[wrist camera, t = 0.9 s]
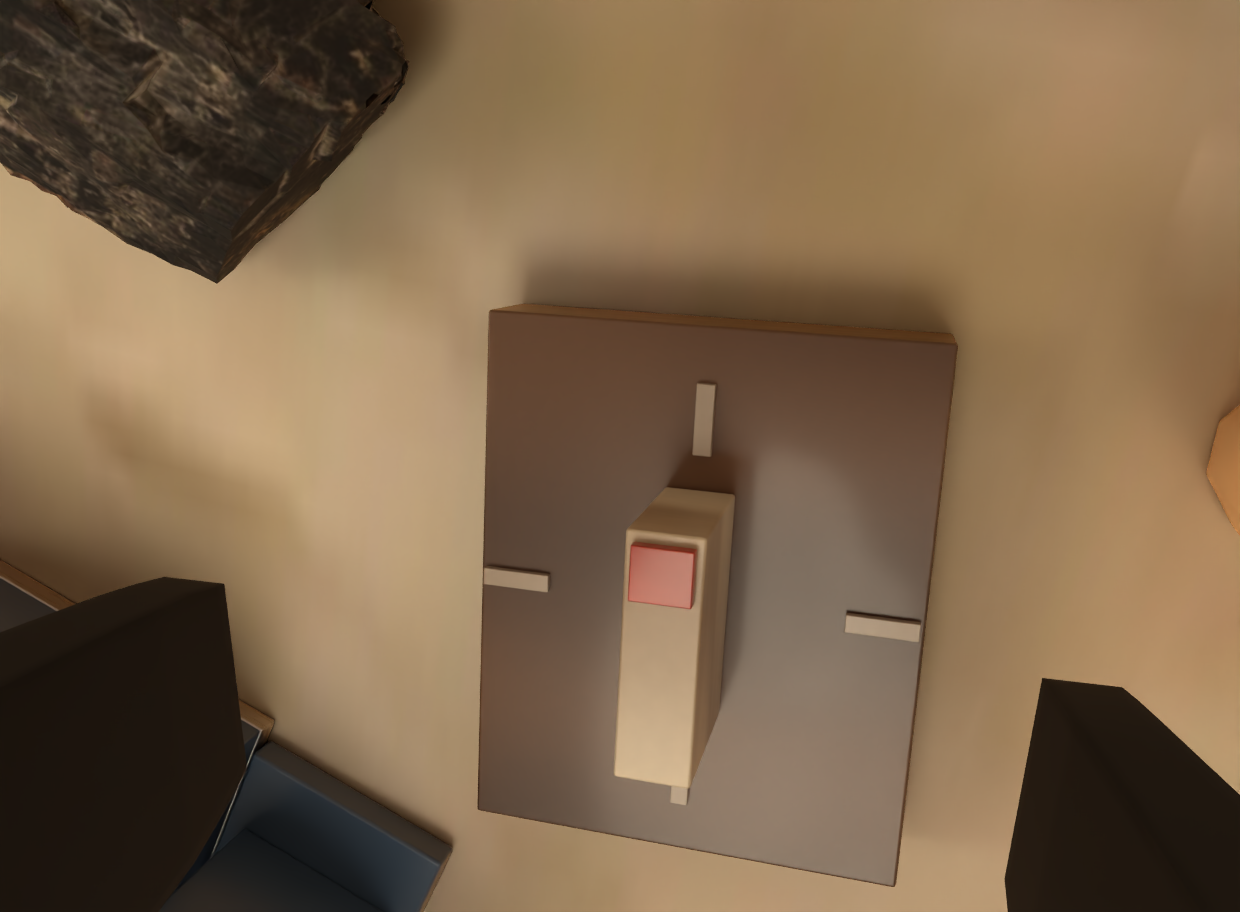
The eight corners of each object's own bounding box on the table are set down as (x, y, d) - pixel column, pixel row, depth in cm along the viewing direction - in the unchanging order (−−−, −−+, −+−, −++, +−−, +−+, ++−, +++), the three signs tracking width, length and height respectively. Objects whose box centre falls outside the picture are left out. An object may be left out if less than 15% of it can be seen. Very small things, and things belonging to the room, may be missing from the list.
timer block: (896, 836, 24) (895, 893, 22) (507, 768, 26) (473, 814, 24) (953, 333, 22) (959, 344, 19) (521, 303, 24) (484, 310, 22)
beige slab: (719, 713, 22) (687, 797, 19) (652, 703, 22) (609, 783, 19) (735, 493, 21) (704, 542, 18) (665, 486, 21) (621, 532, 18)
